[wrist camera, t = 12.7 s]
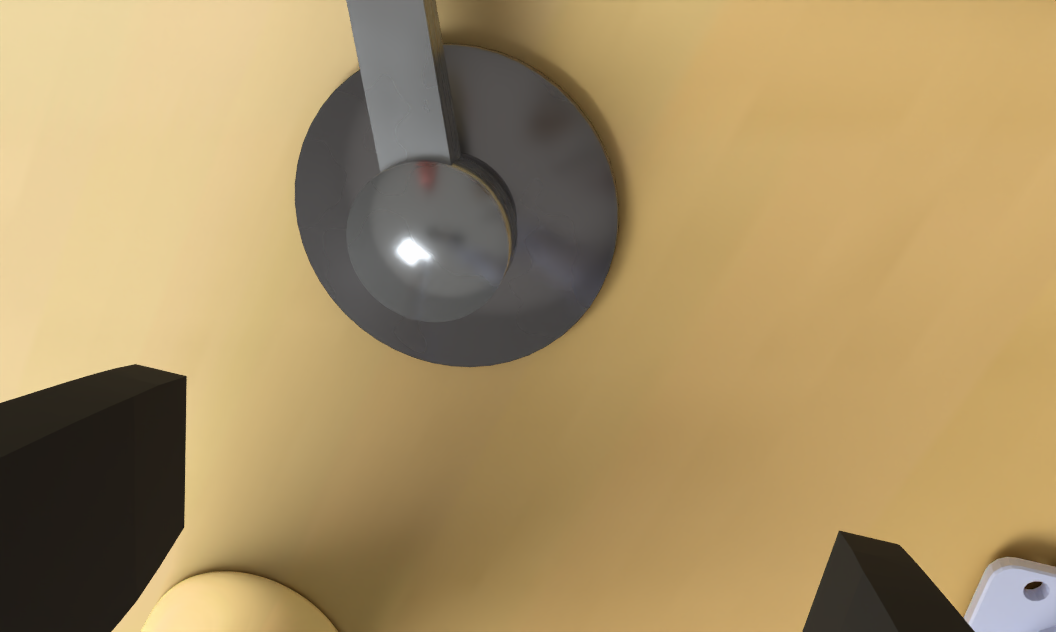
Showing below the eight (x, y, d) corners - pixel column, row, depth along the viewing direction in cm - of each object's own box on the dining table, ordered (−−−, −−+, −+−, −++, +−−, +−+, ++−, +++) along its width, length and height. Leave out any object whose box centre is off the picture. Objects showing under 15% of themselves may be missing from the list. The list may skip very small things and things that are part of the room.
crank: (528, 298, 19) (481, 393, 15) (380, 309, 20) (299, 401, 16) (456, -190, 16) (373, -232, 12) (283, -157, 16) (150, -188, 12)
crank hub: (651, 79, 18) (648, 86, 17) (584, 391, 21) (580, 409, 20) (311, 13, 19) (293, 17, 18) (291, 324, 22) (274, 339, 21)
